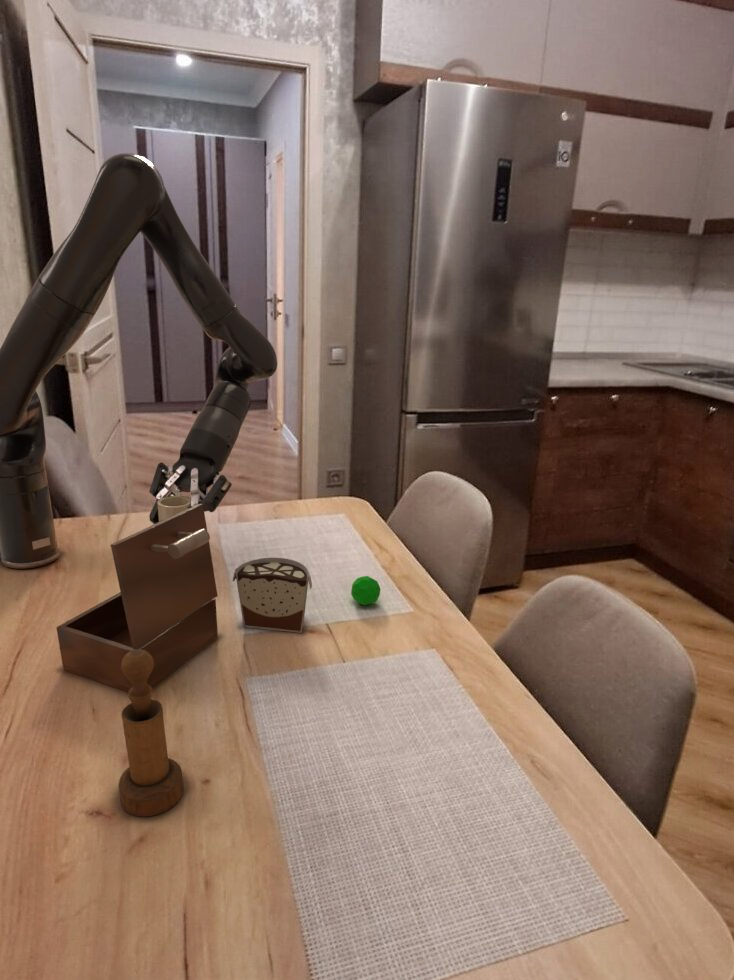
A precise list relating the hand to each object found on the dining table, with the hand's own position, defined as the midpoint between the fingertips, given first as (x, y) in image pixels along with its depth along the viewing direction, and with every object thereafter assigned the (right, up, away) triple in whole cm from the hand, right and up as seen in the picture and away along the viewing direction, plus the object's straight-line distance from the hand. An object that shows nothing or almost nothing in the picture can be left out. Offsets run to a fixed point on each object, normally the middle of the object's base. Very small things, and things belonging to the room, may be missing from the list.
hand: (169, 526), depth 108 cm
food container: (+18, -15, 0) cm, 23 cm away
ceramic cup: (0, -5, +4) cm, 7 cm away
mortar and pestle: (+10, -30, -35) cm, 47 cm away
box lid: (+6, -6, -18) cm, 20 cm away
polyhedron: (+31, -13, +7) cm, 35 cm away
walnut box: (0, -19, -11) cm, 21 cm away
